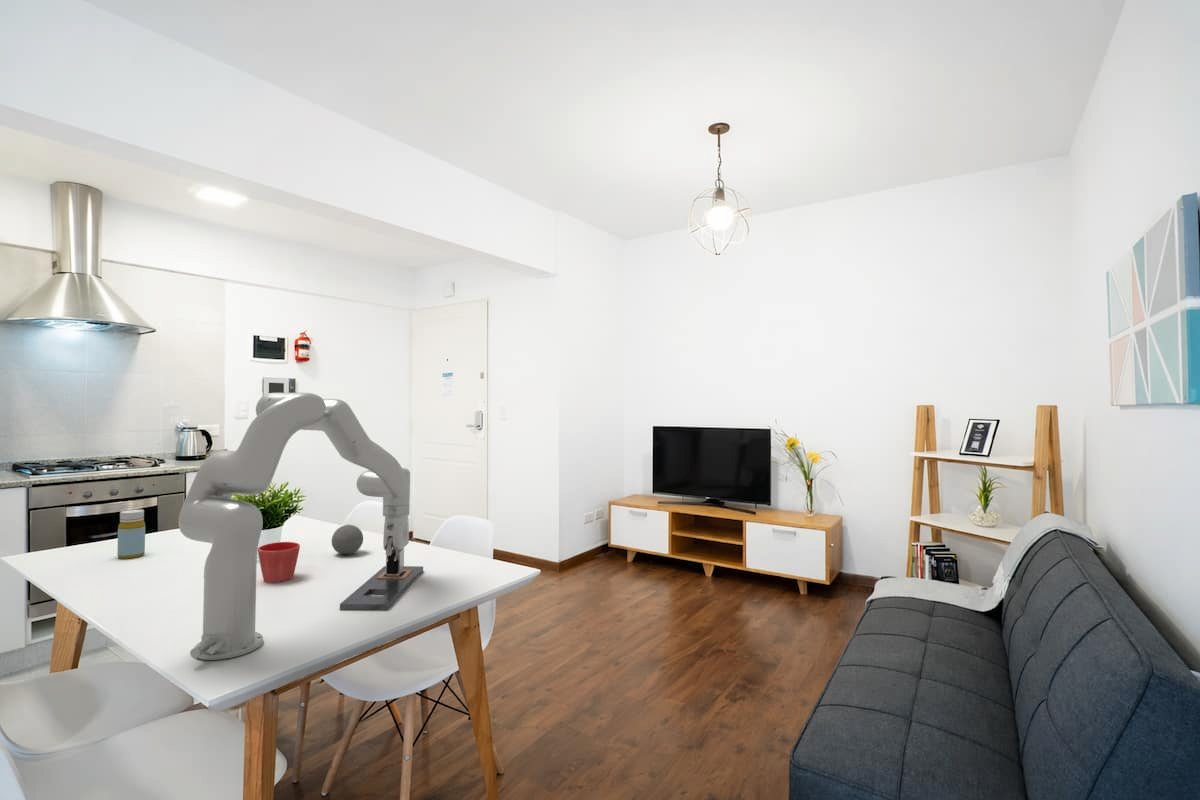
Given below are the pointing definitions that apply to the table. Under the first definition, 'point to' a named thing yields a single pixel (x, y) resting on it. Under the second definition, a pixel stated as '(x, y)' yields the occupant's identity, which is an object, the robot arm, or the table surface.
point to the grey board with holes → (381, 590)
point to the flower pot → (278, 560)
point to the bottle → (131, 534)
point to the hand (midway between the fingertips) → (394, 570)
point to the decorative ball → (347, 539)
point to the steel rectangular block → (400, 564)
